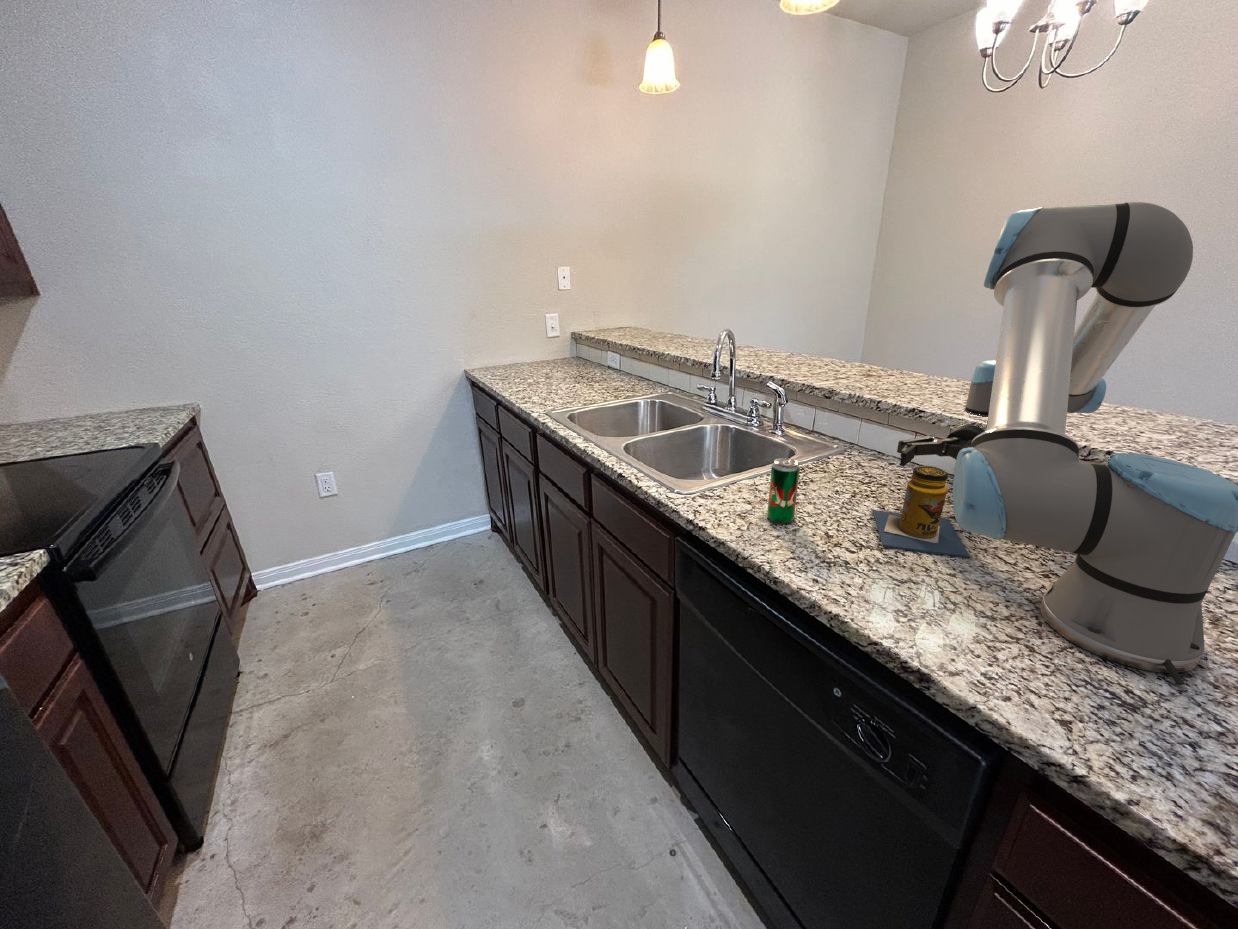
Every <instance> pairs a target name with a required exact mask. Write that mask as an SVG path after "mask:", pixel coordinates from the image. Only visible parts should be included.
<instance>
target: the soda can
mask: <svg viewBox="0 0 1238 929" xmlns="http://www.w3.org/2000/svg"><path fill="white" fill-rule="evenodd" d="M800 470H801V467H800V466H799V461H797V460H796V459H793V458H790V457H778V458H775V459H774V460H773V463H772V465H771V468H770V480H769V481H770V482H769V490H768V491H769V492H768V500H767V501H768V502H767V511H766V516H767V518H768V519H769V520H770V521H771V522H773V523H777V524H781V525H783V524H790V523H791V522H793V521H794V519H795V513H796V504H797V496H798V489H799V480H800Z"/></svg>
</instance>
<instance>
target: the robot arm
mask: <svg viewBox="0 0 1238 929" xmlns="http://www.w3.org/2000/svg"><path fill="white" fill-rule="evenodd" d="M1193 244H1194V243H1193V240H1192V237H1191V233H1190V231H1189V229H1188V227H1187V225H1186V224H1185V223H1184V222H1183V220H1182V219H1181V218H1180V217H1179V216H1178V215H1176V213H1174V212H1173V211H1171V210H1169V209H1168V208H1166V207H1163V206H1161V205H1158V204H1155V203H1150V202H1144V201H1130V202H1129V201H1128V202H1123V203H1106V204H1105V203H1104V204H1089V205H1088V204H1087V205H1072V206H1071V205H1070V206H1054V207H1053V206H1052V207H1045V206H1040V207H1037V208H1032V209H1024V210H1023V209H1022V210H1018V211H1015V212H1012V213H1011V214H1010V215H1008V216H1007V217H1006V219H1005V220H1004V222H1003V225H1002V227H1001V230H1000V233H999V236H998V238H997V241H996V245H995V248H994V251H993V253H992V257H991V260H990V262H989V265H988V268H987V272H986V274H985V277H984V281H983V287H984V288H985V289H990V290H993V297H994V299H995V301H996V302H997V303H998V304H999V305H1000V306H1001V307H1003V308H1002V315H1001V323H1000V329H999V336H998V337H999V338H998V344H997V352H996V359H995V360H984V361H980V362H978V363H977V364H976V365H975V367H974V371H973V374H972V378H971V379H970V385H969V389H968V395H967V399H966V403H965V407H964V410H963V412H964V411H966V412H967V413H970V412H971V413H970V414H973V415H977V416H982V417H988V421H987V428H986V431H985V430H983V429H982V428H980V427H978V426H975V425H966V424H963V425H960V424H959V425H960V426H959V425H958V426H956V427H955V428H954V429H953V430H952V431H951V432H949V434H948V435H947V436H946V438H942V439H940V438H939V439H935V436H934V435H933V434H928V435H925V436H920V437H913V438H908V439H901V440H898V443H897V448H896V453H898V454H900V461H899V466H900V467H905V466H906V465H907V464H908V463H910V462H911V461H913V459H915V457H917V456H935V455H936V456H938V457H941V458H942V457H950V458H952V459H954V460H955V464H954V477H953V482H952V507H953V513H954V517H955V521H956V523H957V525H958V526H959V527H960V528H961V529H962V530H964V531H966V532H968V533H971V534H976V535H980V536H984V537H988V538H990V539H993V540H994V541H995V540H996V541H1008V542H1014V543H1019V544H1024V545H1029V546H1035V547H1038V548H1044V549H1049V550H1054V551H1060V552H1065V553H1071V554H1076V555H1075V559H1074V561H1073V563H1072V564H1071V565H1070V566H1069V567H1068V568H1067V569H1066V570H1065V571H1064V572H1063V573H1062V574H1061V575H1060V576H1059V578H1057V580H1056V581H1055V579H1053V580H1052V581H1051V582H1050V583H1049V584H1048V586H1047V588H1046V591H1045V592H1044V593H1043V596H1042V599H1041V602H1040V605H1039V611H1040V615H1041V617H1042V618H1043V619H1044V621H1045V622H1046V623H1047V624H1048V625H1049V626H1050V627H1051V628H1052V629H1053V630H1054V631H1055V632H1057V633H1058V634H1059V635H1061V636H1062V637H1063V638H1065V639H1066V640H1068V641H1070V642H1071V643H1073V644H1075V645H1076V646H1079V647H1080V648H1082V649H1083V650H1086V651H1088V652H1090V653H1092V654H1094V655H1097V656H1099V657H1102V658H1104V659H1106V660H1109V661H1112V662H1115V663H1117V664H1121V665H1124V666H1127V667H1131V668H1135V669H1139V670H1144V671H1150V672H1156V673H1167V674H1169V676H1170V677H1171V679H1172V680H1173V682H1174V684H1175V685H1176V686H1184V685H1186V683H1185V681H1184V679H1183V678H1182V677H1181V675H1180V673H1184V672H1189V671H1191V670H1193V669H1195V668H1196V667H1197V666H1198V665H1199V663H1200V661H1201V659H1202V657H1203V654H1204V653H1205V634H1204V619H1203V606H1202V604H1203V601H1204V598H1205V596H1206V594H1207V593H1208V591H1209V588H1210V586H1211V584H1212V583H1213V580H1214V578H1215V576H1216V574H1217V572H1218V571H1219V568H1220V566H1221V564H1222V562H1223V560H1224V558H1225V556H1226V555H1227V552H1228V550H1229V548H1230V546H1231V544H1232V542H1233V540H1234V538H1235V536H1236V534H1237V533H1238V485H1237V484H1236V483H1234V482H1233V481H1231V480H1229V479H1227V478H1226V477H1224V476H1221V475H1219V474H1217V473H1214V472H1211V471H1209V470H1206V469H1203V468H1200V467H1198V466H1195V465H1191V464H1187V463H1184V462H1181V461H1178V460H1174V459H1170V458H1165V457H1161V456H1155V455H1150V454H1145V453H1138V452H1128V453H1127V452H1117V453H1115V454H1113V455H1112V456H1111V457H1110V458H1109V459H1108V460H1107V464H1106V465H1104V464H1097V463H1089V462H1082V461H1079V457H1080V446H1079V444H1078V442H1077V441H1076V440H1075V439H1074V438H1072V437H1070V436H1069V435H1067V434H1066V428H1067V416H1068V414H1075V413H1076V414H1092V413H1095V412H1097V411H1098V410H1100V407H1101V406H1102V403H1103V401H1104V399H1105V396H1106V393H1107V382H1106V380H1105V379H1104V378H1103V377H1104V376H1105V375H1106V374H1107V373H1108V371H1109V369H1111V367H1112V365H1113V364H1114V363H1115V362H1116V360H1117V358H1118V357H1119V356H1120V354H1121V353H1123V351H1124V350H1125V348H1126V347H1127V345H1128V344H1129V342H1130V341H1131V340H1132V338H1133V337H1134V335H1135V334H1137V332H1138V330H1139V329H1140V328H1141V326H1142V325H1143V323H1144V322H1145V321H1146V319H1147V318H1148V317H1149V315H1150V314H1151V313H1152V312H1153V310H1154V308H1155V307H1156V306H1158V305H1161V304H1163V303H1165V302H1167V301H1168V300H1169V299H1171V298H1172V297H1173V296H1174V295H1175V294H1176V293H1177V291H1178V290H1179V288H1180V287H1181V286H1182V284H1183V283H1184V282H1185V280H1186V278H1187V276H1188V274H1189V272H1190V270H1191V267H1192V264H1193V263H1192V262H1193V258H1194V245H1193ZM1092 288H1094V289H1095V292H1096V294H1095V295H1094V298H1093V300H1092V301H1091V303H1090V304H1089V307H1088V308H1087V310H1086V311H1085V313H1084V315H1083V317H1082V318H1081V320H1080V322H1079V324H1078V325H1077V327H1076V320H1077V319H1076V318H1077V306H1078V301H1079V300H1081V299H1082V298H1083V297H1084V296H1086V294H1088V293H1089V291H1090V290H1091V289H1092ZM979 414H980V415H979Z"/></svg>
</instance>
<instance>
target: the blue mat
mask: <svg viewBox="0 0 1238 929" xmlns="http://www.w3.org/2000/svg"><path fill="white" fill-rule="evenodd" d="M872 514H873V517H874V520H875V523H876V524H875V525H876V527H877V530H878V534H879V538H880V541H881V544H882V547H883V548H890V549H900V550H905V551H913V552H921V553H928V554H936V555H944V556H951V557H959V558H966V559H969V558H971V555H970V553H969V552H968V550H967V549H966V546H965V545H964V543H963V542H962V540H961V538H960V537H959V534H958V533H957V532H956V530H955V528H954V527H953V525H952V523H951V521H950V520H949V518H945V517H941V518H940V522H939V526H940V529H939V538H938V543H932V542H929V541H923V540H919V539H914V538H911V537H907V536H904V535H899V534H895V533H890V532H885V531H884V529H885V526H886V523H887V520H888V517H889V515H893V516H897V517H900V518H901V514H902V512H901V513H900V512H893V511H892V512H891V511H884V510H883V511H881V510H872Z"/></svg>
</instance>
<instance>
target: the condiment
mask: <svg viewBox="0 0 1238 929" xmlns="http://www.w3.org/2000/svg"><path fill="white" fill-rule="evenodd" d="M948 477H949V474H948V472H947V471H946V470H944V469H942V468H940V467H936V466H932V465H918V466H915V467H914V468H913V469H912V474H911V476H910V480H909V481H908V482H907V485H906V490H905V495H904V500H903V504H902V505H903V506H902V508H901V518H900V517H897V516H893V515H889V517H888V520H887V523H886V526H885V529H884V531H885V532H890V533H895V534H899V535H904V536H907V537H911V538H914V539H919V540H923V541H929V542H932V543H938V538H939V529H940V526H939V522H940V518H942V513H943V510H944V505H945V501H946V496H947V494H948V493H947V492H948V487H947V482H948Z"/></svg>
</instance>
